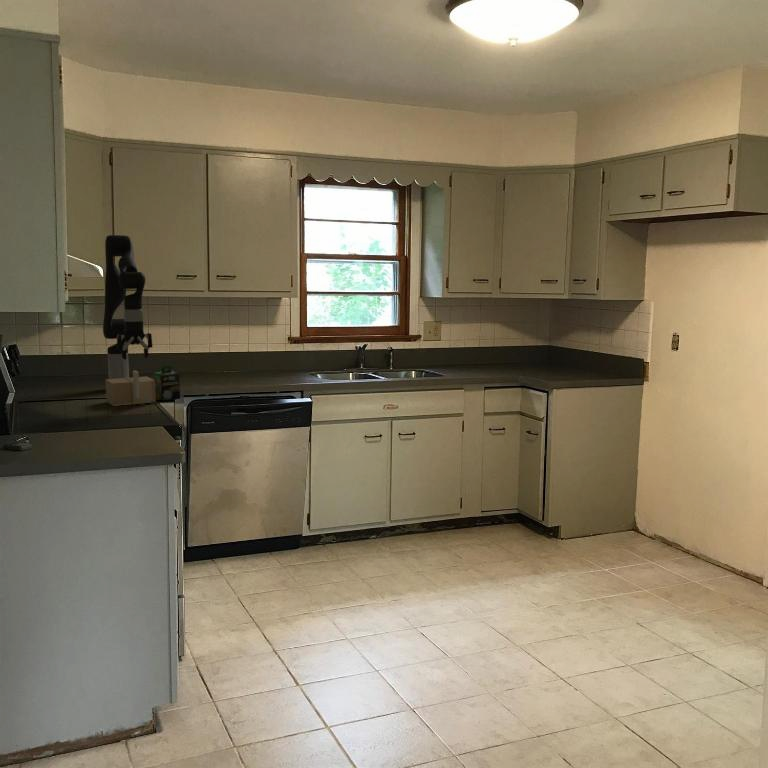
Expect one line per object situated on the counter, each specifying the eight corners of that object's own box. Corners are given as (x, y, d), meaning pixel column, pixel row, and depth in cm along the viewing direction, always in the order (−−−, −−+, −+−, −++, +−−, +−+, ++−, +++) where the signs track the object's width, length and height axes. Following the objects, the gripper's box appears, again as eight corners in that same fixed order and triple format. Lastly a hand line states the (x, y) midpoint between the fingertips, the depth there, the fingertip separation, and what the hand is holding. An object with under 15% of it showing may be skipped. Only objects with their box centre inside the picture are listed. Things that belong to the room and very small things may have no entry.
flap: (132, 404, 352) (131, 370, 350) (151, 403, 357) (150, 369, 354) (136, 406, 348) (134, 372, 346) (155, 405, 352) (153, 370, 350)
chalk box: (172, 395, 377) (171, 363, 375) (181, 398, 370) (180, 365, 368) (153, 397, 371) (151, 364, 369) (161, 400, 364) (160, 367, 362)
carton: (106, 402, 359) (105, 379, 357) (147, 398, 368) (147, 376, 367) (113, 406, 349) (112, 383, 347) (155, 403, 358) (154, 379, 357)
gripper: (148, 318, 351) (149, 356, 354) (114, 320, 344) (115, 358, 347) (153, 320, 345) (154, 358, 348) (118, 321, 338) (120, 360, 340)
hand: (135, 358), depth 347 cm, fingers open, 8 cm apart
